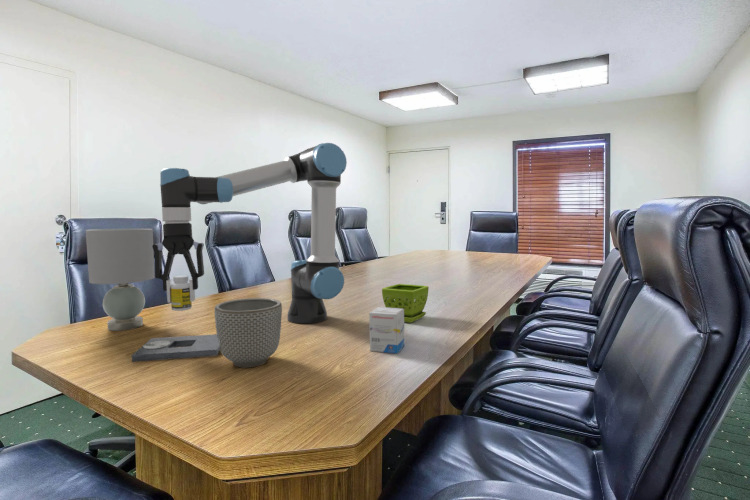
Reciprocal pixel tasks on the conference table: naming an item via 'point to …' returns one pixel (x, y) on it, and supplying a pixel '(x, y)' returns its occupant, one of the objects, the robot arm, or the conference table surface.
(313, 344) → the conference table surface
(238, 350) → the planter
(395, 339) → the ink box
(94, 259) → the lamp
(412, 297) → the flower pot
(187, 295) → the supplement bottle
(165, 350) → the housing plate
